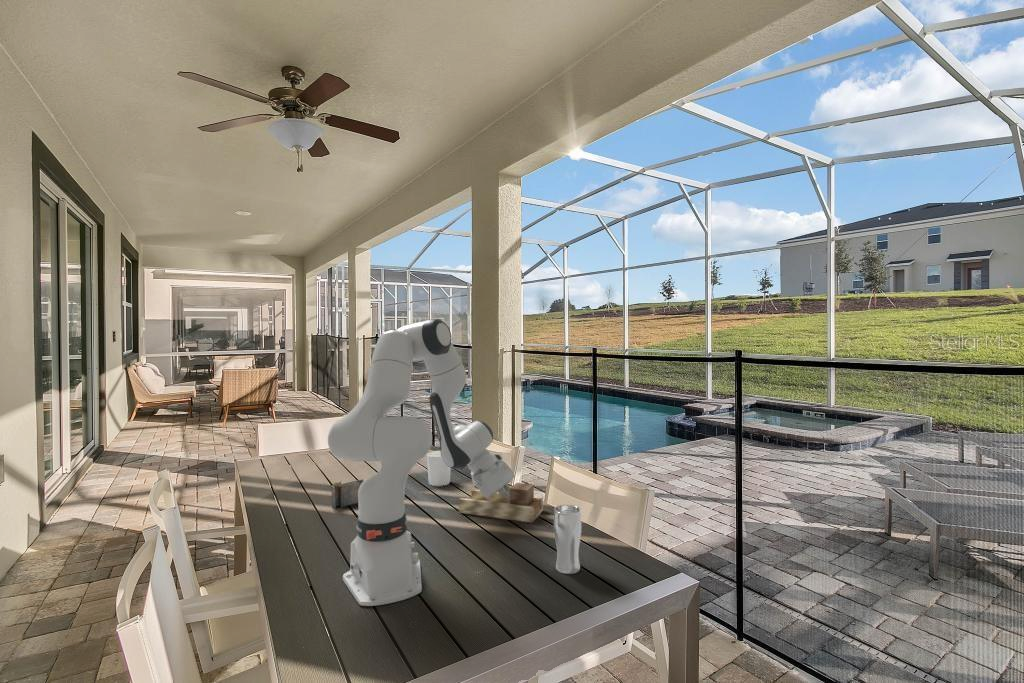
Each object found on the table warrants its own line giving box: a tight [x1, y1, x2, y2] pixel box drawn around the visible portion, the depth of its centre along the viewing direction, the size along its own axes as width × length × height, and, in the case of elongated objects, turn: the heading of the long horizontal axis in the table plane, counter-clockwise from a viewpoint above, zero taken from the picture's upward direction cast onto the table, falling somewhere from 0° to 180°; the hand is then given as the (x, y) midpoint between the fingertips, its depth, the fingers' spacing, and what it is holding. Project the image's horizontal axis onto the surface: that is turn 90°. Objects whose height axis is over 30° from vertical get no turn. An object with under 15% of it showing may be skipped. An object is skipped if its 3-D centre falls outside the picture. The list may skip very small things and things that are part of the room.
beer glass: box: [553, 504, 582, 575], centre depth 120 cm, size 7×7×15 cm
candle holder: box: [426, 450, 451, 487], centre depth 192 cm, size 10×10×12 cm
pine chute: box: [458, 488, 544, 523], centre depth 160 cm, size 26×11×4 cm, turn 69°
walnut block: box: [510, 482, 535, 506], centre depth 157 cm, size 6×6×8 cm
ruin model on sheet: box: [331, 479, 365, 509], centre depth 169 cm, size 11×3×10 cm, turn 133°
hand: (511, 498), depth 158 cm, fingers closed, pressing on walnut block
